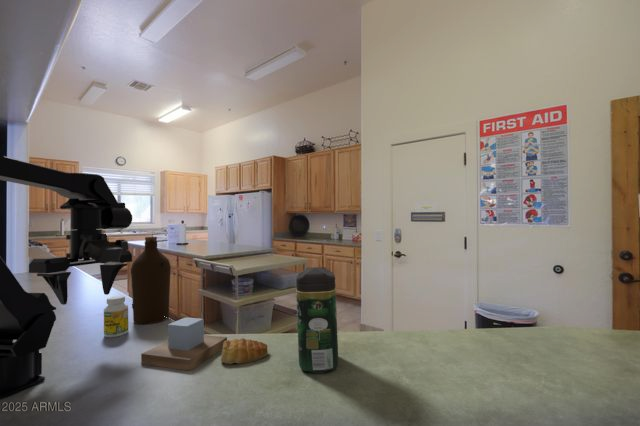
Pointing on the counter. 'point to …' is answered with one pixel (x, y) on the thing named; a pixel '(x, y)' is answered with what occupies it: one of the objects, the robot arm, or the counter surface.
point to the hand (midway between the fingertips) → (86, 299)
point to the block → (185, 333)
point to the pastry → (242, 351)
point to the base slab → (183, 354)
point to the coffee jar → (317, 320)
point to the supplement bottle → (115, 317)
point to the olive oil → (150, 285)
